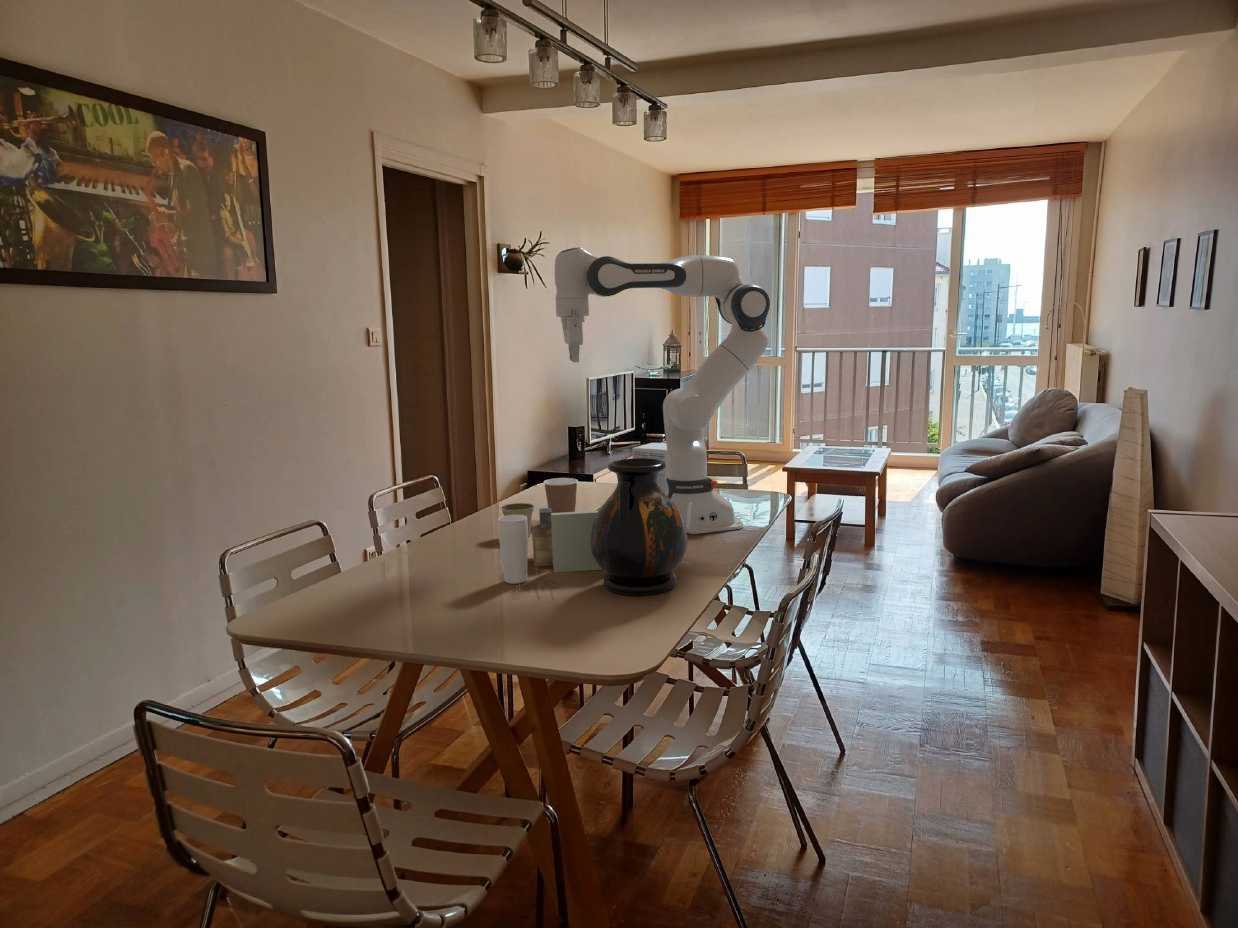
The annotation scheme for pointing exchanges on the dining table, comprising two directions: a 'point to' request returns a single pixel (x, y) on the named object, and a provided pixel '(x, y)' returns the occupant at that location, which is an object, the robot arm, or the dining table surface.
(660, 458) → the supplement box
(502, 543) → the drinking glass
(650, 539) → the amphora vase
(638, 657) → the dining table surface
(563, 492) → the coffee cup
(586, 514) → the board
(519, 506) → the flower pot
